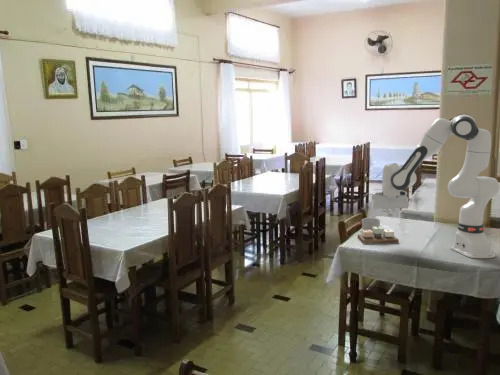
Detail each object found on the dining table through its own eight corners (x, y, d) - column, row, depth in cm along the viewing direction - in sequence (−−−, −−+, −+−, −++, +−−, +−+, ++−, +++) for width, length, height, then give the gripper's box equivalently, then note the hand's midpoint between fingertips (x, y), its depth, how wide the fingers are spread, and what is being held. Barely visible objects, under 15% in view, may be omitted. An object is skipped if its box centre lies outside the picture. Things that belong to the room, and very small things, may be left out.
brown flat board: (398, 242, 247) (398, 239, 246) (363, 243, 246) (363, 240, 246) (391, 236, 259) (391, 233, 258) (357, 237, 258) (357, 234, 258)
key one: (393, 239, 250) (394, 231, 249) (385, 240, 250) (385, 231, 249) (390, 237, 255) (391, 229, 254) (382, 237, 255) (382, 229, 254)
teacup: (380, 235, 262) (380, 222, 261) (361, 234, 265) (362, 221, 263) (378, 228, 276) (378, 216, 274) (360, 228, 278) (360, 216, 277)
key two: (383, 236, 250) (383, 228, 249) (374, 237, 249) (375, 228, 249) (380, 234, 254) (380, 226, 254) (372, 234, 254) (372, 226, 254)
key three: (372, 240, 250) (373, 231, 249) (364, 240, 250) (364, 231, 249) (370, 237, 255) (370, 229, 254) (361, 237, 255) (361, 229, 254)
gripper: (373, 193, 244) (373, 217, 246) (410, 192, 245) (409, 216, 247) (370, 191, 251) (370, 215, 252) (405, 190, 251) (405, 214, 253)
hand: (389, 216), depth 250 cm, fingers closed
